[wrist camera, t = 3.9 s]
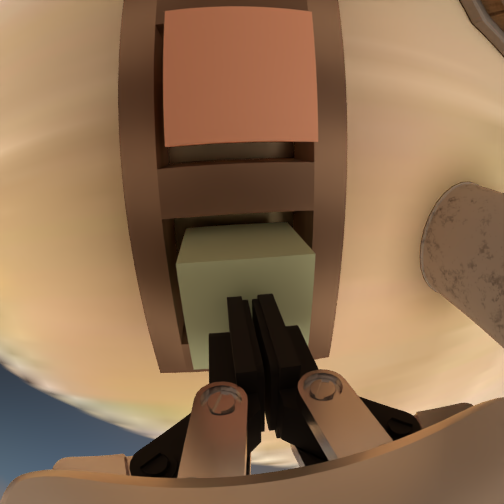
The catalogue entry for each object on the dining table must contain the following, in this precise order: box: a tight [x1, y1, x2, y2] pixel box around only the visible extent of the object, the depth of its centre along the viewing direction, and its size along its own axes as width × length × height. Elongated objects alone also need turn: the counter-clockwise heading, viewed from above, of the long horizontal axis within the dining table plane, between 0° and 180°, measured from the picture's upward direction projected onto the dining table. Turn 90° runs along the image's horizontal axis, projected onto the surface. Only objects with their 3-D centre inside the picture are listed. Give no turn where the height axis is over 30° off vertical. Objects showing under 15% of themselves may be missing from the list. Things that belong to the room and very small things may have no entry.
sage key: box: [176, 222, 316, 370], centre depth 13 cm, size 5×5×4 cm
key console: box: [118, 0, 347, 373], centre depth 12 cm, size 29×10×4 cm, turn 2°
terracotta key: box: [163, 6, 318, 147], centre depth 10 cm, size 5×5×4 cm
